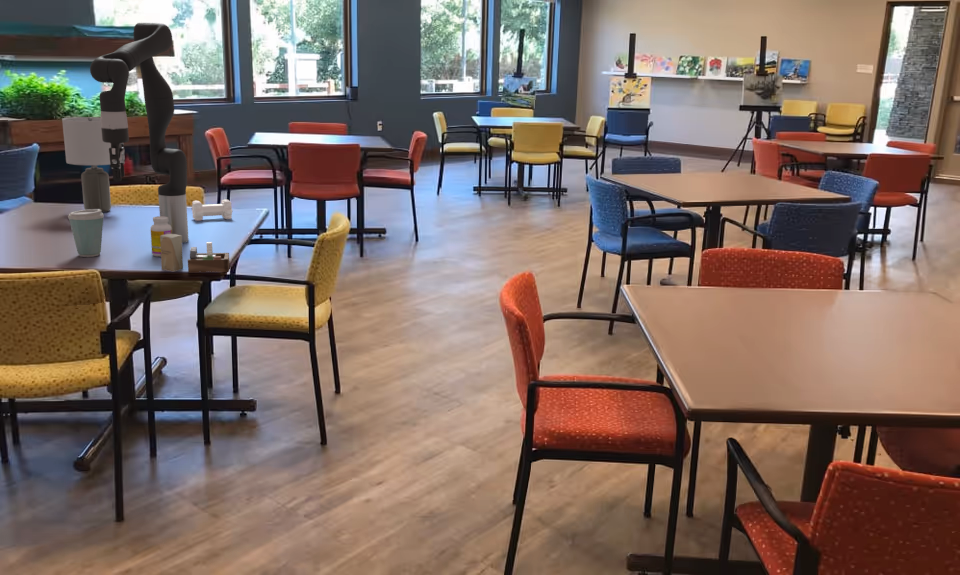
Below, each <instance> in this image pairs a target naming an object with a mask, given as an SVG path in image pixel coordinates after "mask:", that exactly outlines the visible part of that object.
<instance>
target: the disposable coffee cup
mask: <svg viewBox="0 0 960 575" xmlns="http://www.w3.org/2000/svg"><path fill="white" fill-rule="evenodd" d="M104 217H105V216H104V212H103V213H102V211H101V210H100V209H88V210H85V209H81V210H76V211H72V212H69V214H68V216H67V218H68V220H69V224H70V228H71V232H72V236H73V241H74V243H75V247H76V251H77V254H78V256H79V257H81V258H82V257H84V258H91V257H98V256H100V255H101V252H102V251H101V250H102V238H103V229H104V228H103V227H104V226H103V224H104Z"/></svg>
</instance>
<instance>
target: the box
mask: <svg viewBox="0 0 960 575" xmlns="http://www.w3.org/2000/svg"><path fill="white" fill-rule="evenodd" d="M160 242H161V257H160V263H161V264H160V265H161V266H160V267H161V270H162V271H168V272H177V271H180V270H184V264H183V261H184V260H183V243H182V235H176V234H165V235H161V236H160Z"/></svg>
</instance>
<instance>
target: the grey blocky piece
mask: <svg viewBox="0 0 960 575" xmlns="http://www.w3.org/2000/svg"><path fill="white" fill-rule="evenodd" d="M213 251H214V250H213V241H207V242H206V253H207V255H197V253H198V248H197V246H192V247H190V250H189V259H203V257H204V256H213V259H214V256H216V255H213V253H214V252H213Z"/></svg>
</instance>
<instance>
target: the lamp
mask: <svg viewBox="0 0 960 575" xmlns="http://www.w3.org/2000/svg"><path fill="white" fill-rule="evenodd" d="M61 119H62V120H61V121H62V133H63V142H64V152H65V153H64V154H65V162H66V164H67V165H68V164H69V165H74V166H91V167H87V168H85V169H84V170H85V171H83V172H82V173H81V175H80V180H81V188H82V201H83V208H84V209H83V210H88V209H100V210H101V211H102V213H103V214H104V213H107V212H110V210H111V208H112V200H111V199H112V198H111V188H110V186H111V185H110V176H109V173H108V172H107V171H105V170H104V168H103V167H98V166H108V165H109V166H110V154H109V148H111V143H106V142H103V140H102V130H101V116H100V117H99V116H98V117H96V116H95V117H94V116H91V117H90V116H88V117H87V116H81V117H80V116H79V117H76V116H75V117H64V118H63V117H62V118H61ZM114 164H116V163H114Z"/></svg>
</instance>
